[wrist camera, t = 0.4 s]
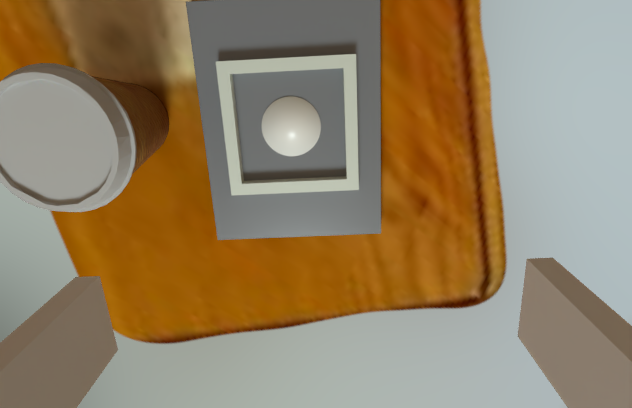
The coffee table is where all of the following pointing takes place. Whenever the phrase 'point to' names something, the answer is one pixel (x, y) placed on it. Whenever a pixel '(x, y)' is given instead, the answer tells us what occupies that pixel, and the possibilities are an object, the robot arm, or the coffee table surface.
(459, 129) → the coffee table surface
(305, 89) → the socket plate
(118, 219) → the coffee table surface
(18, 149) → the disposable coffee cup
